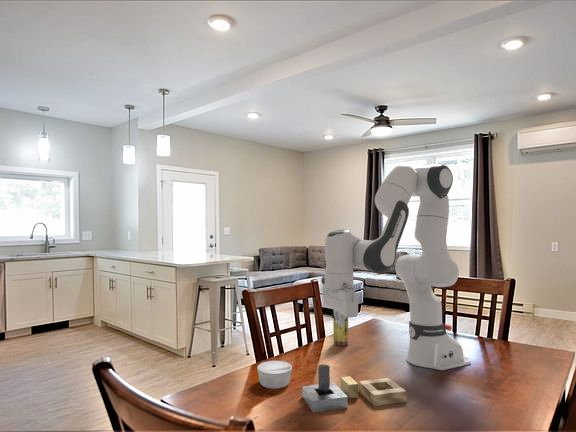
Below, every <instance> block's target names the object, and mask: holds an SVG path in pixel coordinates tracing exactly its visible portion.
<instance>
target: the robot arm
mask: <svg viewBox="0 0 576 432" xmlns="http://www.w3.org/2000/svg"><path fill="white" fill-rule="evenodd" d="M453 181H454V176H453V173H452V171H451V169H450V168H449V167H448V166H447V165H445V164H439V163H438V164H437V163H436V164H435V163H434V164H428V165H427V164H425V165H419V166H416V167H411V166H409V165H406V164H399V165H397V166H395V167H394V168H392V170H390V172H389V173H388V174H387V176H386V177H385V178H384V179H383V181H382V183H381V185H380V186H379V187H378V189H377V192H376V194H375V196H374V204H375V207H376V208H377V210H378V211H379V212H380V213H381V214H382V215H384V216H385V217H386V219H387V220H386V222H385V224H384V227H383V230H382V232H381V234H380V236H379V237H377V238H376V239H374V240H373V239H372V240H369V239H368V240H367V239H362V238H359V237H357V236H355V234H353V233H352V232H351V230H349V229H340V230H339V229H338V230H333V231H331V232H329V233H328V234H327V236H326V238H325V244H324V245H325V246H324V259H325V265H326V266H325V270H324V271H325V273H324V276H322V277H321V278H320V282H321V285H322V298H323V304H324V305H325V306H326V307H328V308H329V309H332V310H333V316H334V315H335V319H336V324H337V325H339V326H340V327H342V326H344V325H345V318H346V317H348V318H357V317H358V315H359V305H358V296H357V292H356V291H355V290H354V284H355V283H354V269H358V270H362V271H370V272H373V273H376V274H385V273H387V272H388V271H390V270H391V269H392V268H393V266H394V264H395V266H394V267H395V273H396V275H397V277H398V278H399V279H400V280H401V281H402V283H403V285H404V288H405V290H406V293H407V296H408V303H409V315H410V316H409V319H410V320H409V321H408V322H409V323H408V333H409V334H408V335H409V344H408V350H407V355H406V358H405V360H406V362H408V363H409V364H411V365H414V366H417V367H421V368H428V369H435V370H438V371H445V370H450V369H455V368H459V367H462V366H464V367H465V366H468V365H471V360H470V358H469V357H468V356H465V355H464V350H463V347H462V345H461V344H460V342H458V341H457V340H456V339H454V338H453V337H452V336H451V335H449V334H448V333H447V331H448V332H451V331H452V330H453V326H452V325H451V324H448V323H447V324H445V323H443V309H442V308H443V305H442V301H441V299H440V298H439V297H438V296H437V295H436V294H435V293H434V291H433V288H432V287H436V288H445V287H451V286H453V285H455V284H456V282H457V280H458V278H459V275H460V269H459V266H458V265H457V262H456V261H455V260H454V259H453V257H451V255H450V252H449V249H448V246H447V245H448V244H447V231H448V223H449V216H450V215H449V213H450V205H449V204H450V201H449V196H448V194H449V193H450V190H451V188H452V186H453ZM412 197H418V198H419V201H420V202H419V204H418V205H419V206H418V210H417V215H416V222H415V228H414V238H415V240H416V241H417V242H418V243H420V246H421V251H422V252H421V253H420V254H419V253H410V254H404V255H400V256H399V257H398V258H397V251H398V248H399V244H400V241H401V239H402V236H403V233H404V231H405V227H406V225H407V222H408V219H409V215H410V209H409V206H408V204H409V202H410V200H411V198H412ZM396 258H397V260H396ZM395 261H396V262H395Z"/></svg>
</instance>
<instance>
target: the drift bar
mask: <svg viewBox="0 0 576 432" xmlns="http://www.w3.org/2000/svg"><path fill="white" fill-rule="evenodd" d="M340 389H341V390H342V391H343V392H344V393H345V395H346V396H347V397H348V400H352V399H359V382H357V381H356V380H354V379H353V377H351V376H349V375H348V376H340Z"/></svg>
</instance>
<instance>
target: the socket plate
mask: <svg viewBox="0 0 576 432" xmlns="http://www.w3.org/2000/svg"><path fill="white" fill-rule="evenodd" d="M301 393H302V394H301V397H302V398H303V400H304V401H305V403H306V405H307V406H308V407H309V409H310V410H311V412H312V413H319V412H327V411H334V410H341V409H347V408H348V406H349V405H348V401H349V399H348V397H347V396H346V395H345V393H344V392H343V391H342V390H341V387H339V386H338V385H337V384H336V383H335V382H330V394H329V395H321V396H319V394H318V384H310V385H303V386H301Z"/></svg>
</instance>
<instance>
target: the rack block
mask: <svg viewBox="0 0 576 432" xmlns="http://www.w3.org/2000/svg"><path fill="white" fill-rule="evenodd" d="M358 393H360V394H361V395H362V396H363V397H364V398H365V399H366V400H367V401H368V402H369V403H370V404H372V405H373V406H374V407H377V406H383V405H384V406H385V405H390V404H391V405H393V404H399V403H405V402H407V390H406V389H404V388H403V387H402V386H400V385H399V384H397V383H396V382H395V381H393V380H392V379H391V378H390V377H384V378H377V379H375V378H373V379H368V380H367V379H366V380H360V381H359V380H358Z"/></svg>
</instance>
